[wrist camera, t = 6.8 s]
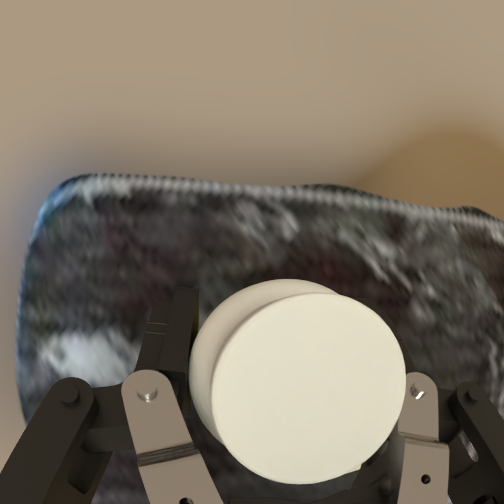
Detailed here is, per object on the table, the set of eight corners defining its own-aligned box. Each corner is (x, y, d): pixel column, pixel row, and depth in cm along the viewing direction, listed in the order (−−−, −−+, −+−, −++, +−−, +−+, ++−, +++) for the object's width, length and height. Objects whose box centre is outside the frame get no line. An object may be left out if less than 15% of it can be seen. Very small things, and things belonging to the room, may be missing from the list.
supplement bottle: (193, 307, 15) (152, 270, 6) (302, 292, 16) (413, 235, 6) (210, 415, 14) (204, 530, 4) (318, 396, 15) (440, 461, 5)
